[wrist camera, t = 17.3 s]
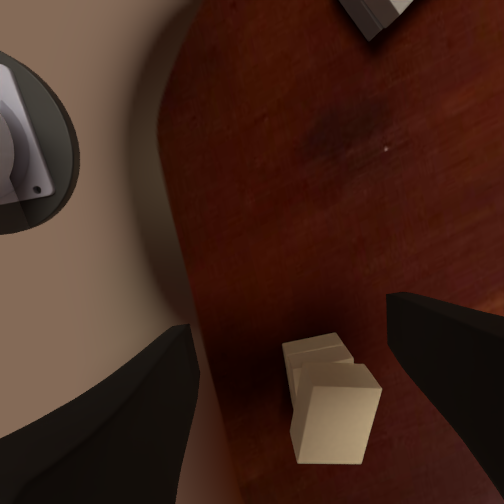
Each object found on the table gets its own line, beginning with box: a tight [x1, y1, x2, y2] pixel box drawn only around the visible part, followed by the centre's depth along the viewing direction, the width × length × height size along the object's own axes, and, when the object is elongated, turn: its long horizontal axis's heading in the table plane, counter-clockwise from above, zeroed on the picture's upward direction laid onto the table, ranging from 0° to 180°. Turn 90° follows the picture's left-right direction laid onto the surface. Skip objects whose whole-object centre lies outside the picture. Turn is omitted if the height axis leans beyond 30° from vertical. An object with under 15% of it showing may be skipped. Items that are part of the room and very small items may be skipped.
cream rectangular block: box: [290, 361, 382, 464], centre depth 19 cm, size 6×4×2 cm
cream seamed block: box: [282, 333, 354, 409], centre depth 22 cm, size 6×4×3 cm
